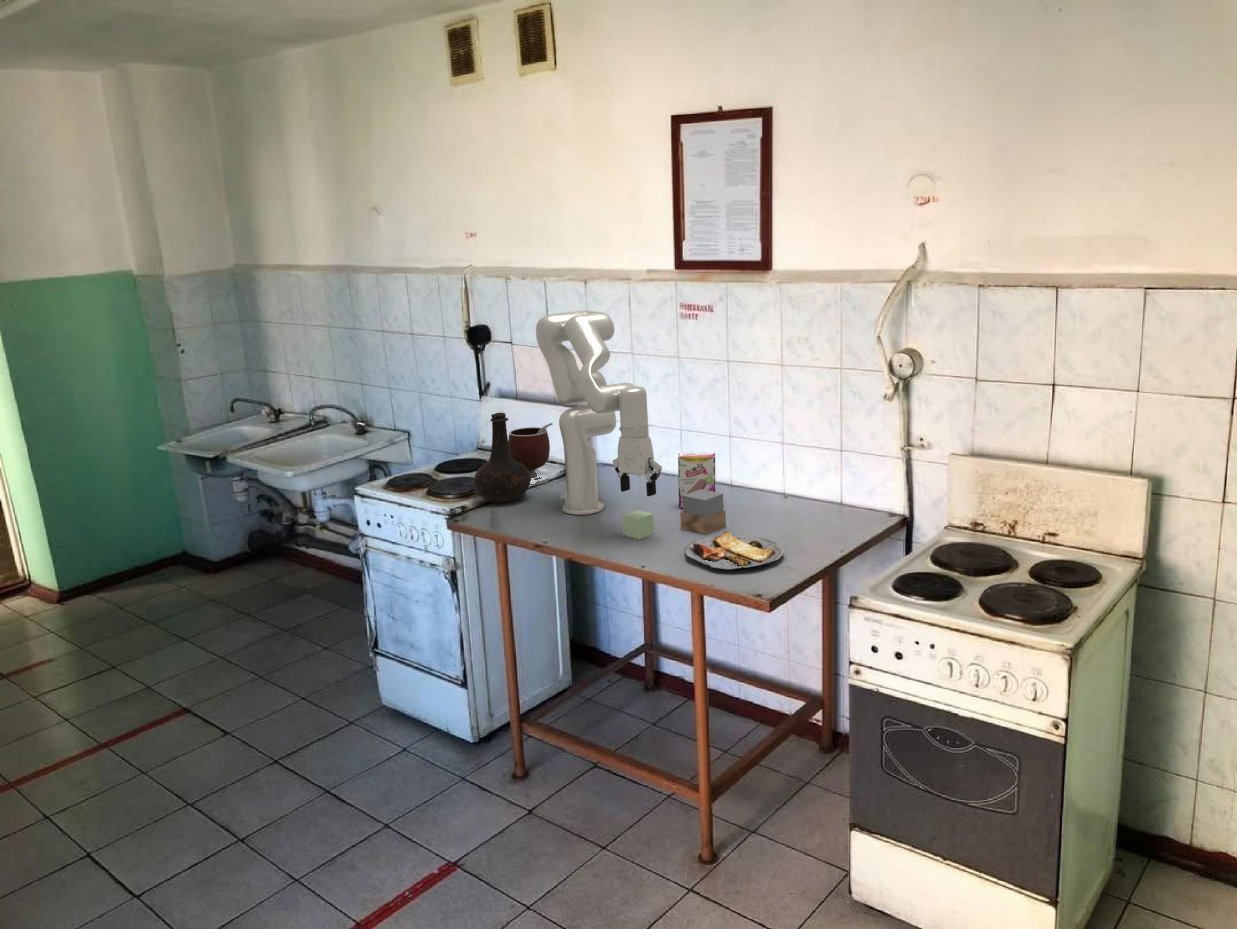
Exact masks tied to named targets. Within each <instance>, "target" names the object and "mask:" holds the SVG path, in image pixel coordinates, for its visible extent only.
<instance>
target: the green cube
mask: <svg viewBox="0 0 1237 929" xmlns="http://www.w3.org/2000/svg"><path fill="white" fill-rule="evenodd" d="M654 526H655V524H654V513H652V512H648V511H643V510H641V509H639V510H638V509H636V510H634V511H630V512H628V513H625V514H623V515H622V528H623V536H624V535H626V536H625V537H629V538H632V537H633V538H632V539H636V538H637V539H636V540H642V539H644V537H645V538H647V537H650V536H652V535H654V534H655V528H654ZM649 535H650V536H649ZM641 538H642V539H641Z"/></svg>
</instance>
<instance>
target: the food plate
mask: <svg viewBox="0 0 1237 929" xmlns="http://www.w3.org/2000/svg"><path fill="white" fill-rule="evenodd" d="M684 553H685V557H688V558H690V559H692V560H695V561H696V562H698V563H701V564H703V565H702V566H708V567H710V568H714V569H723V570H736V569H742V567H743V568H751V567H757V566H759V567H761V565H767V564H770V563H771V562H774V561H778V560H779V559H780V558H781V557H782V556H783V554H784V549H783V548H782V547H781V545H779V544H778V543H776V542H775V541H772V540H769V539H766V538H762V537H757V536H754V535H753V536H752V535H745V534H731V533H730V531H724V532H723V533H721V534H718V535H711V536H708V537H702V538H698V539H696V540H692V542H689V543H688V545H686V546H685V547H684ZM724 559H725V560H729V561H730V562H733V563H734V564H737V566H736V565H734V564H733V563H732V564H733V565H734V566H733V565H730V566H727V565H726V566H724V565H720V566H717V565H716V566H715V565H714V564H713V563H712V564H711V565H710V564H709V563H707V562H705V561H703V560H708V561H712V562H718V561H720V560H724ZM750 560H751V561H750ZM727 562H728V561H727ZM753 562H754V563H753ZM759 562H760V563H759ZM749 564H751V565H749Z"/></svg>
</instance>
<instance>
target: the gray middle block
mask: <svg viewBox="0 0 1237 929" xmlns="http://www.w3.org/2000/svg"><path fill="white" fill-rule="evenodd" d="M723 510H724V493H722V492H717V491H716V492H713V491H708V490H703V489H700V490H697V491H694V492H691V493H689V494H686V495H683V508H682V512H683V513H687V514H692V515H696V516H700V517H705V518H706V517H709V516H711V515H714V514H716V513H719V512H721V511H723Z"/></svg>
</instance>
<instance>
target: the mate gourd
mask: <svg viewBox="0 0 1237 929" xmlns="http://www.w3.org/2000/svg"><path fill="white" fill-rule="evenodd" d="M553 424H554V423H553V422H549V423H548V424H545V425H544V426H542V427H538V426H537V427H535V426H534V427H533V426H532V427H531V426H530V427H529V426H528V427H521V428H515V429H512V430H509V432H508V443H509V448H510V453H511V456H512V458H513V460H515V461H517V462H520V463H522V464H523V465H524V466H526V468H527V469H528V470H529V473H530V477H531V478H535V477H537V474H538V473H537V472H536V470H538V469H540V468H542V467H543V466H545V465H546V463H547V461H548V460H549V459H550V452H551V451H550V450H551V446H550V437H549V433H548V430H547V428H548V427H550V426H553ZM541 478H542V477H541ZM541 478H540V477H539V478H535V479H534V480H538V479H541ZM549 481H550V477H549V478H547V479H545V480H542V481H537V482H536V483H535V484H537V485H542V484H545V483H548V482H549Z"/></svg>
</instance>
